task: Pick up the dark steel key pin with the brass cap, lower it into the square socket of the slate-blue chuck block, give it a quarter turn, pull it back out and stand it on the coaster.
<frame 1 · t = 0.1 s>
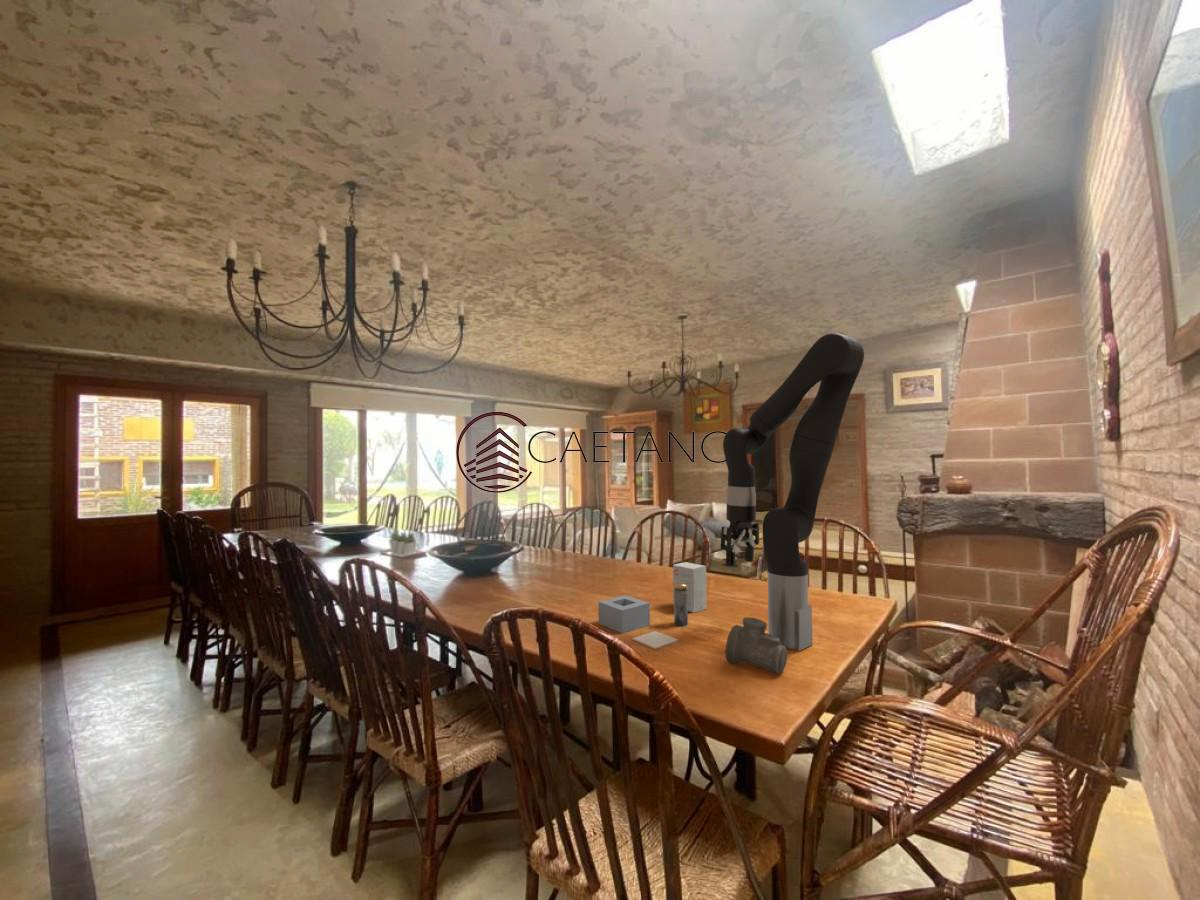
hand: (740, 563, 130), 17 cm above the table, fingers open, 8 cm apart
pipe fitting: (757, 668, 106), on the table
small box: (689, 608, 148), on the table
coaster: (655, 640, 121), on the table
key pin: (681, 624, 133), on the table
chuck block: (624, 624, 133), on the table
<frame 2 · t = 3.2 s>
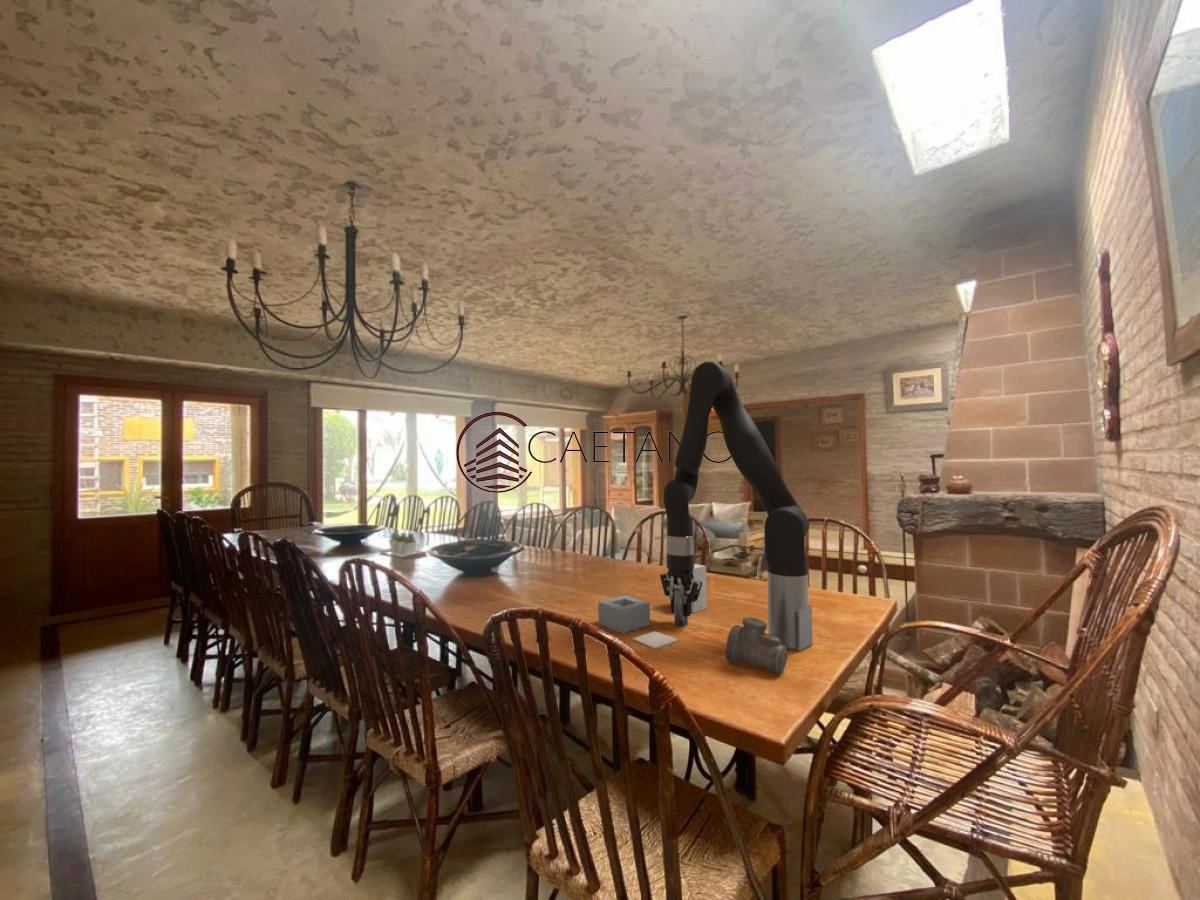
hand: (680, 614, 133), 3 cm above the table, fingers closed on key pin, 3 cm apart
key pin: (681, 624, 133), on the table, touching gripper
everything else where it was.
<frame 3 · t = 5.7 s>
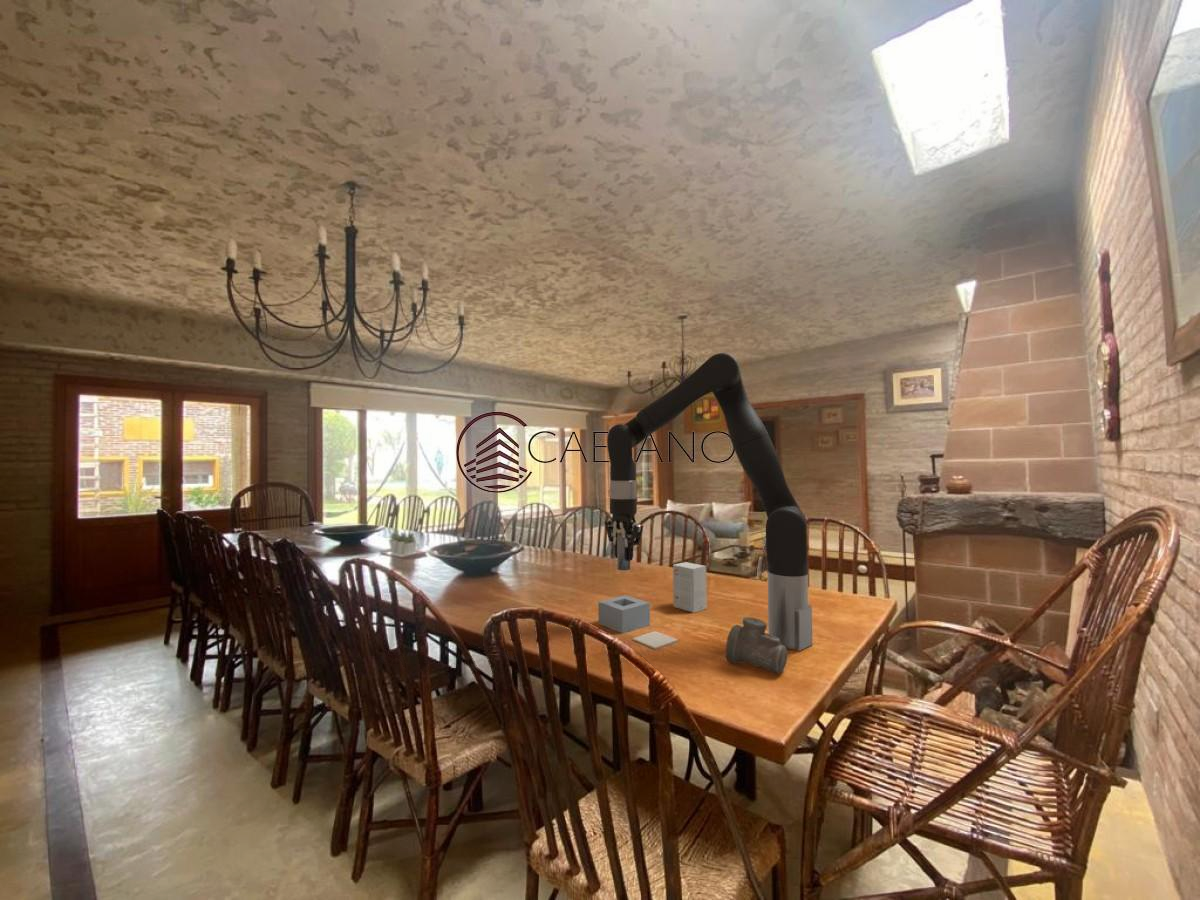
hand: (623, 558, 134), 18 cm above the table, fingers closed on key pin, 3 cm apart
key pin: (623, 568, 134), point 15 cm above the table, touching gripper
everything else where it was.
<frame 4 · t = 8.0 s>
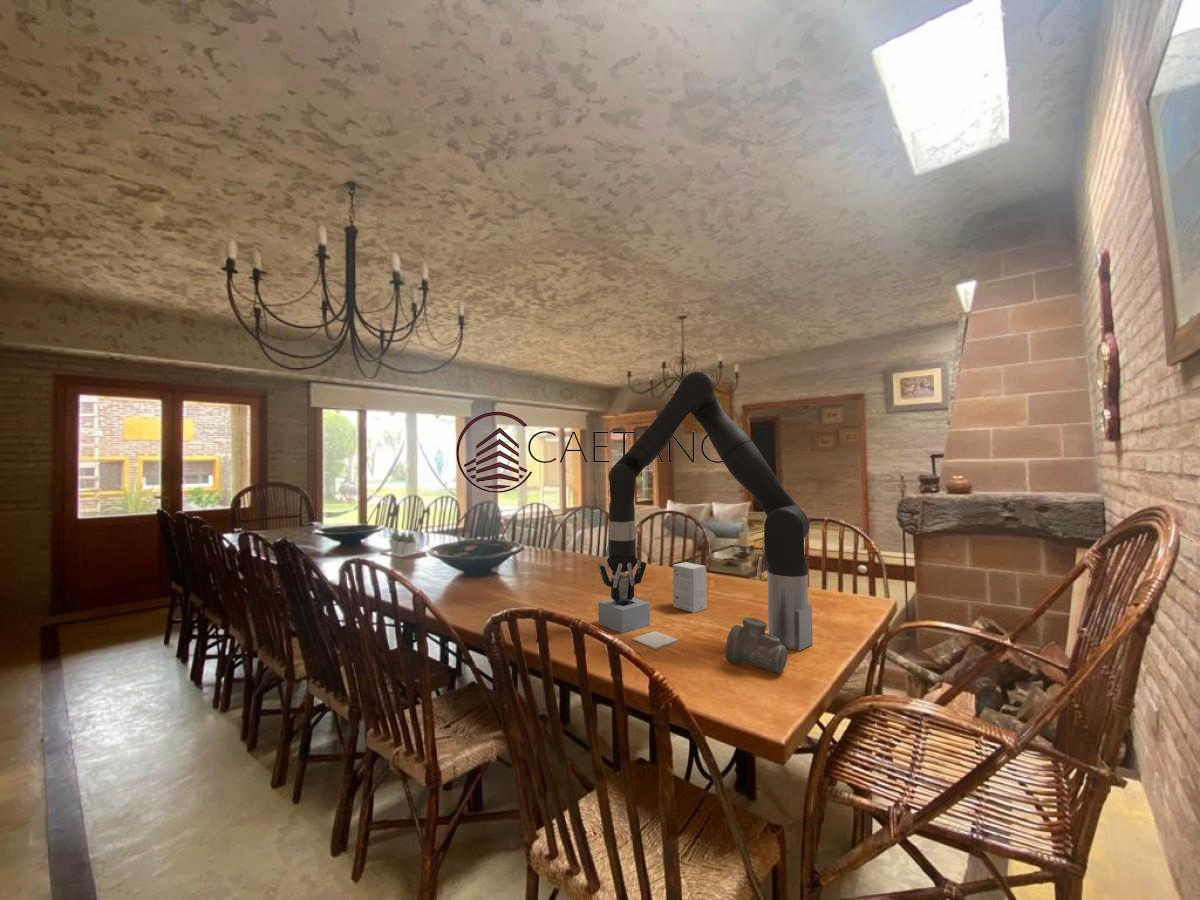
hand: (622, 599, 133), 7 cm above the table, fingers closed on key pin, 3 cm apart
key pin: (621, 608, 133), point 4 cm above the table, tilted 8°, touching chuck block, gripper
everything else where it was.
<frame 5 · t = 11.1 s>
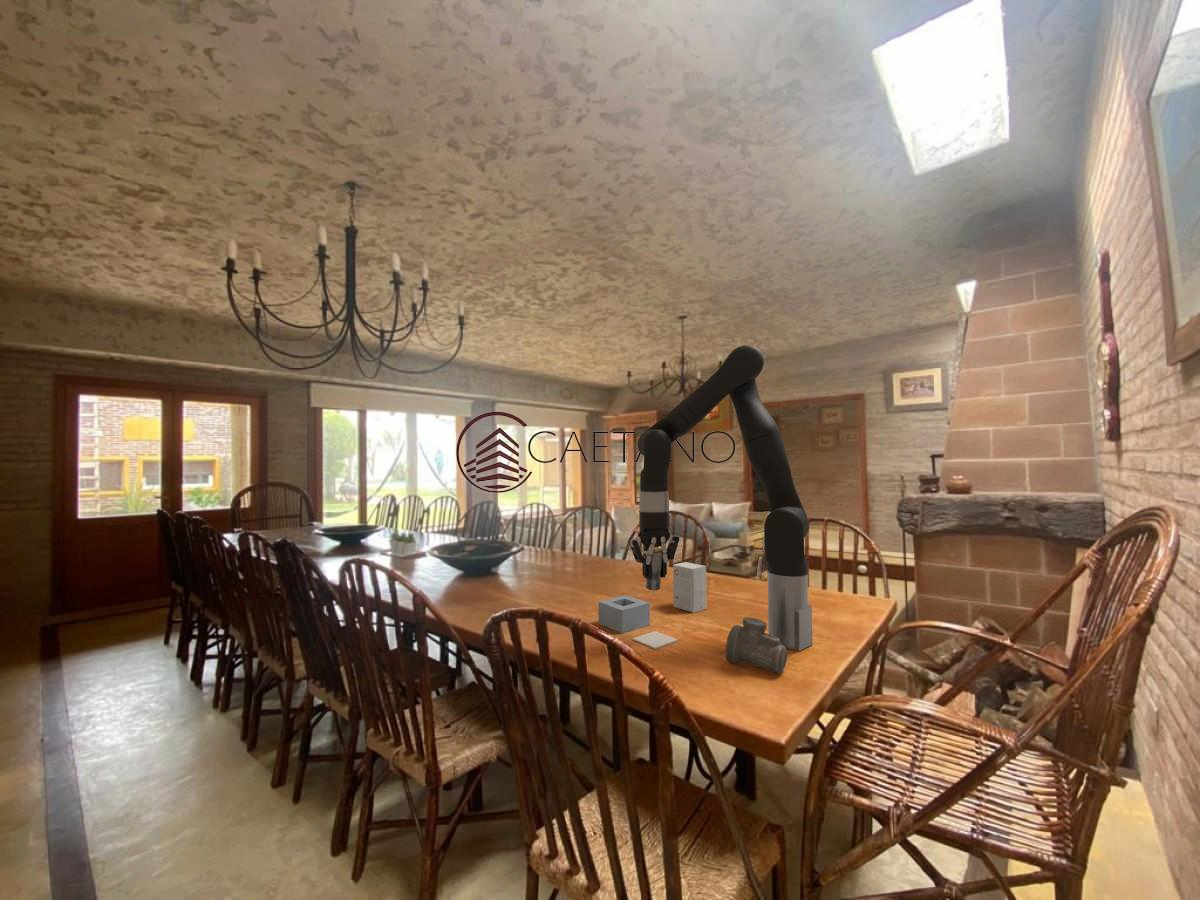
hand: (654, 577, 122), 16 cm above the table, fingers closed on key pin, 3 cm apart
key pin: (653, 587, 123), point 13 cm above the table, tilted 7°, touching gripper
everything else where it was.
when the fingers open (4 cm above the table, at t = 13.3 s): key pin stays where it is, resting on coaster.
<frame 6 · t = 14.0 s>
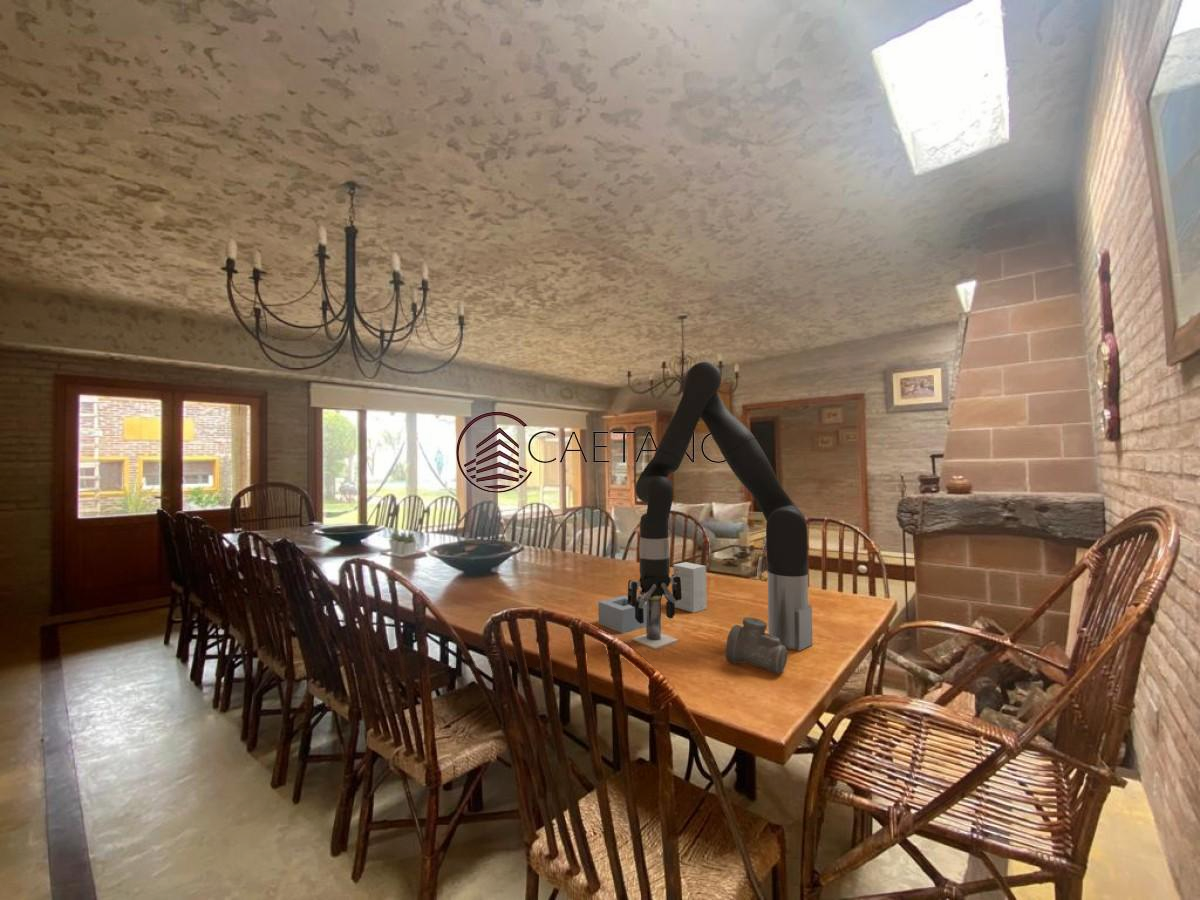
hand: (655, 620, 121), 5 cm above the table, fingers open, 8 cm apart
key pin: (653, 637, 122), resting on coaster
everything else where it was.
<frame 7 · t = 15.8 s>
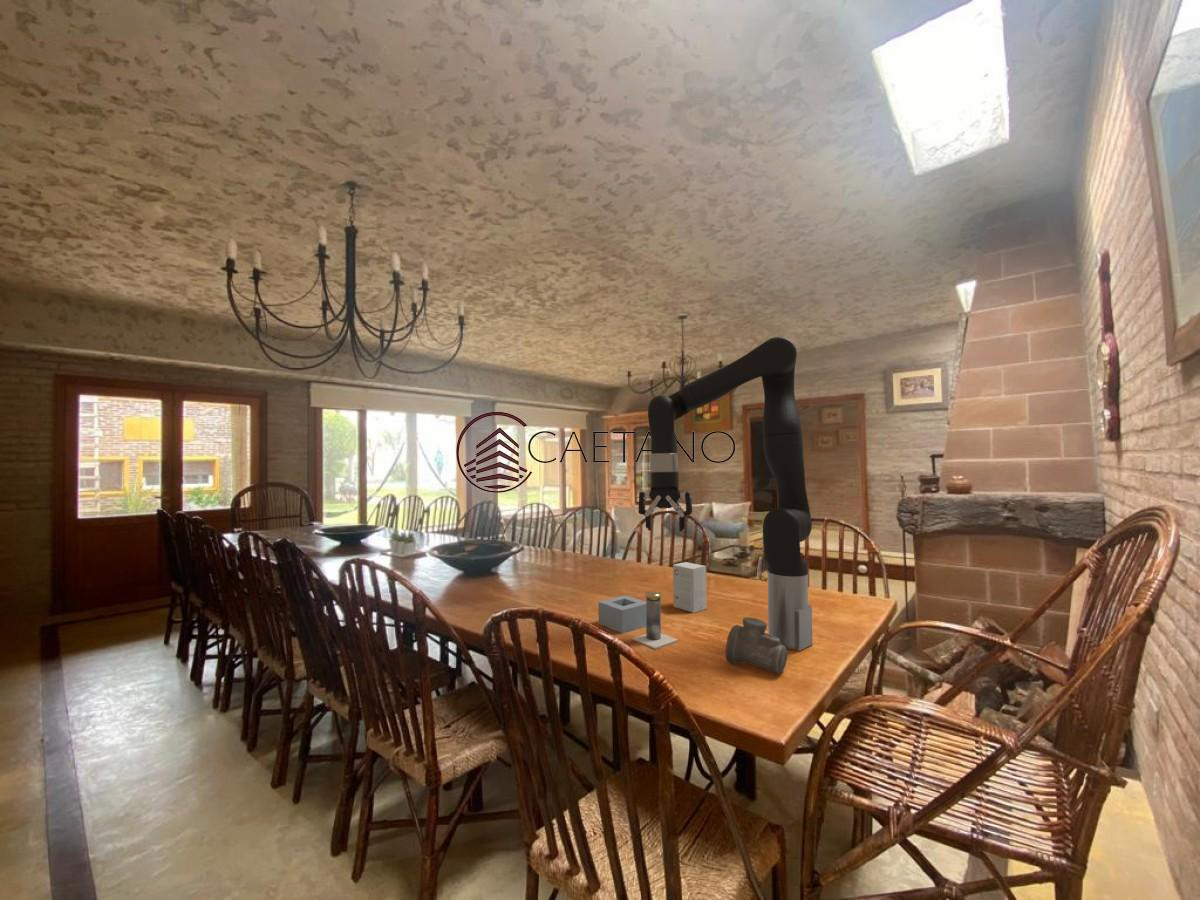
hand: (665, 530, 131), 26 cm above the table, fingers open, 8 cm apart
nothing on the table moved.
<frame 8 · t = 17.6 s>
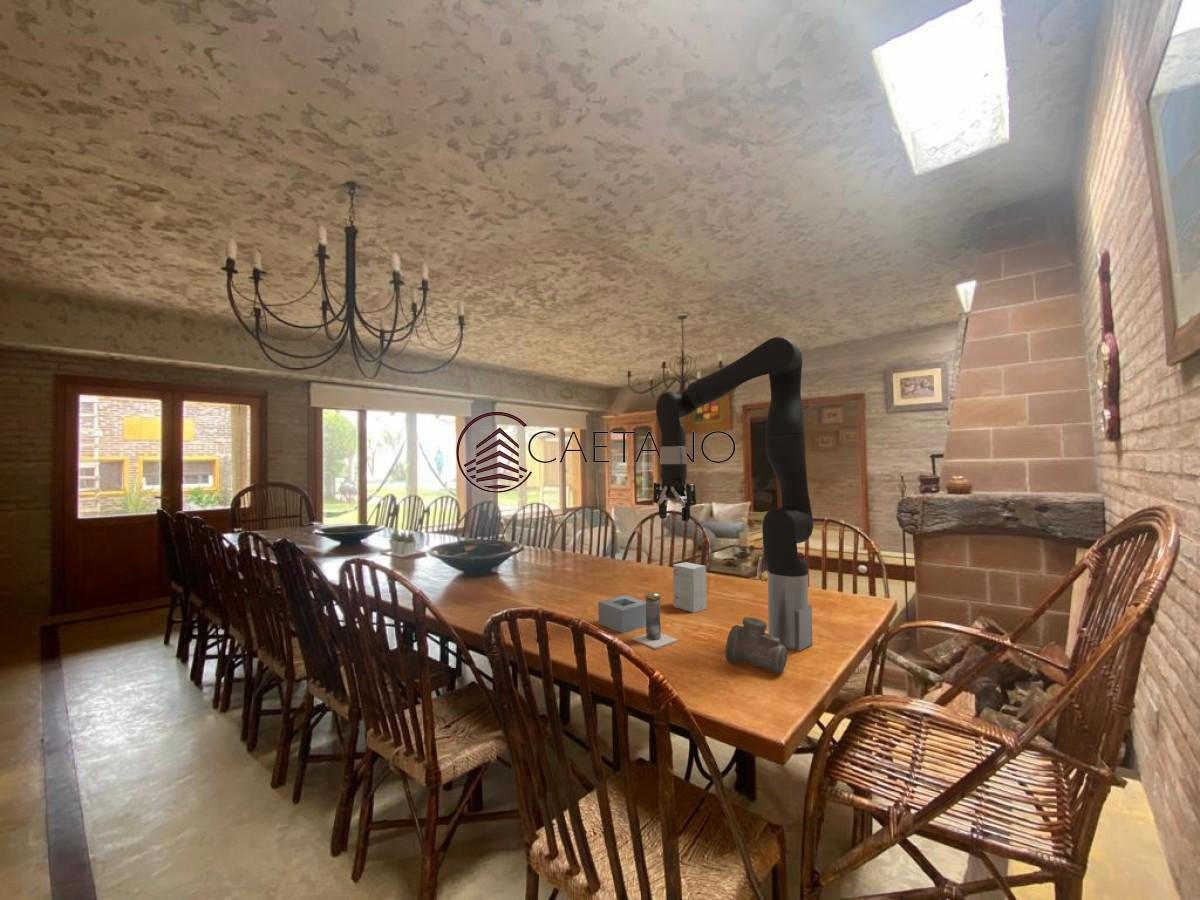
hand: (674, 519, 138), 28 cm above the table, fingers open, 8 cm apart
nothing on the table moved.
at the end: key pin inside the target area on the coaster (0.9 cm from its centre), point 0.4 cm above the coaster's base; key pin tilted 2°; the gripper is holding nothing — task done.
